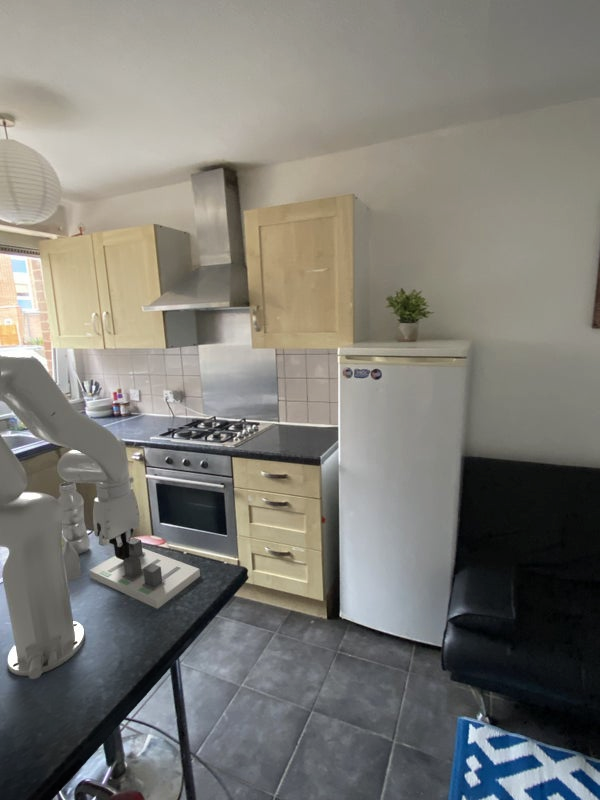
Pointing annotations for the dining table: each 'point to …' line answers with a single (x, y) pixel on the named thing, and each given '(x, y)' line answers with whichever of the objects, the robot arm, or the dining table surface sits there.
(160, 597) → the panel
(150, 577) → the breaker near
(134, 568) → the block
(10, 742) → the dining table surface
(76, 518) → the plastic bottle
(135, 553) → the block
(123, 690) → the dining table surface
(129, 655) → the dining table surface
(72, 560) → the white printed box
